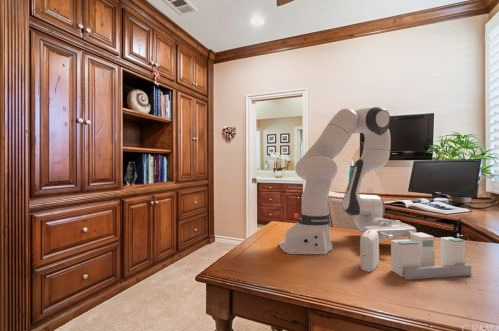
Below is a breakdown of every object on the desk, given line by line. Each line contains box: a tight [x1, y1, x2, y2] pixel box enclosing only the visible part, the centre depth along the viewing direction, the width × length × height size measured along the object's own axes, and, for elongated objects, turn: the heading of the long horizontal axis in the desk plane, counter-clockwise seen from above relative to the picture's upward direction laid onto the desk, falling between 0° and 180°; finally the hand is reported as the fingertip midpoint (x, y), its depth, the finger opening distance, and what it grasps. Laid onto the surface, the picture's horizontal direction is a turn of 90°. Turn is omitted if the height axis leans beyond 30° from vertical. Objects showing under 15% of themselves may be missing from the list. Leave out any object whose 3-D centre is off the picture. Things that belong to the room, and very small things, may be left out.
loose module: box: [409, 232, 435, 267], centre depth 84 cm, size 4×5×11 cm
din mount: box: [390, 236, 472, 280], centre depth 79 cm, size 22×7×10 cm, turn 96°
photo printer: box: [359, 230, 380, 273], centre depth 85 cm, size 10×4×12 cm, turn 139°
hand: (402, 237), depth 94 cm, fingers open, 8 cm apart
